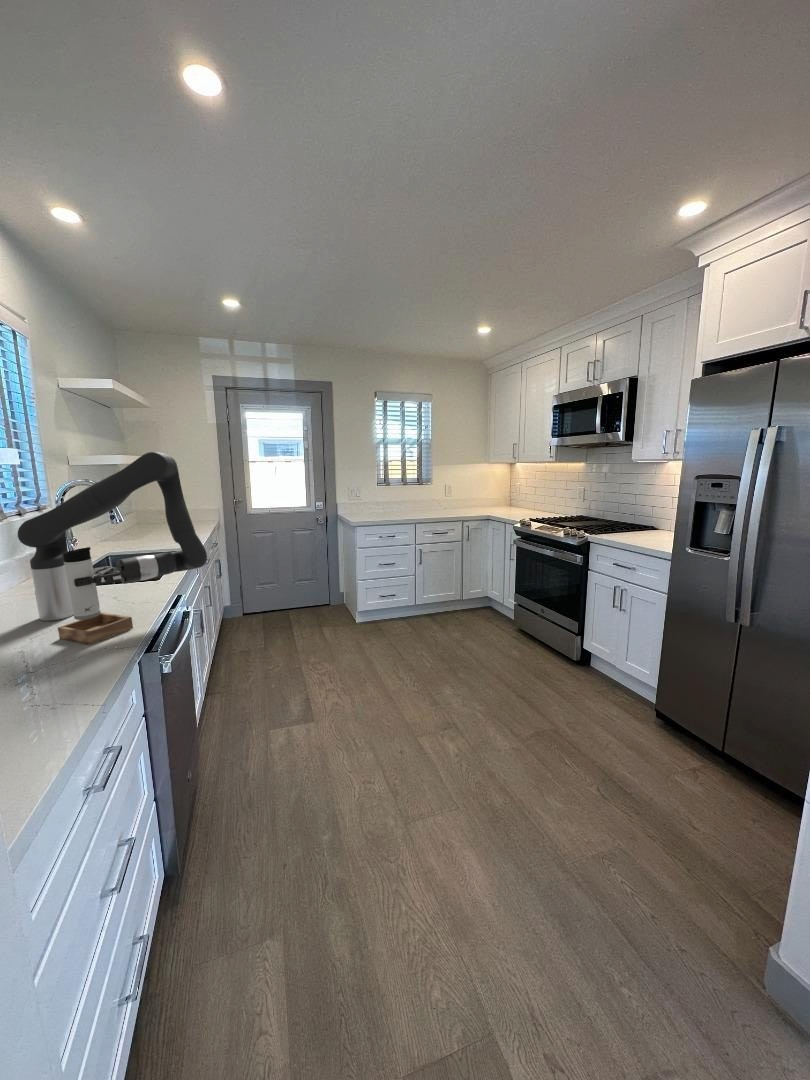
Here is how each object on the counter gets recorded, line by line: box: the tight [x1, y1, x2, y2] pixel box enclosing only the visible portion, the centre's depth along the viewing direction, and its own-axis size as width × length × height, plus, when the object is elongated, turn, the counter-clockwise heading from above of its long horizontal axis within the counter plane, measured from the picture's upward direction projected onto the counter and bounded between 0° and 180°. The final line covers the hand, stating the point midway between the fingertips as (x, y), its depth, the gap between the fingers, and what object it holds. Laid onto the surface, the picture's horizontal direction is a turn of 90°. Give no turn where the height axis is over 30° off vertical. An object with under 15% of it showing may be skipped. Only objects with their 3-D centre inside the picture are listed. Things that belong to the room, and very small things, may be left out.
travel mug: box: [63, 546, 102, 621], centre depth 125 cm, size 6×7×20 cm
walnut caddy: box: [57, 612, 134, 646], centre depth 131 cm, size 13×13×4 cm
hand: (71, 581), depth 124 cm, fingers closed on travel mug, 6 cm apart
